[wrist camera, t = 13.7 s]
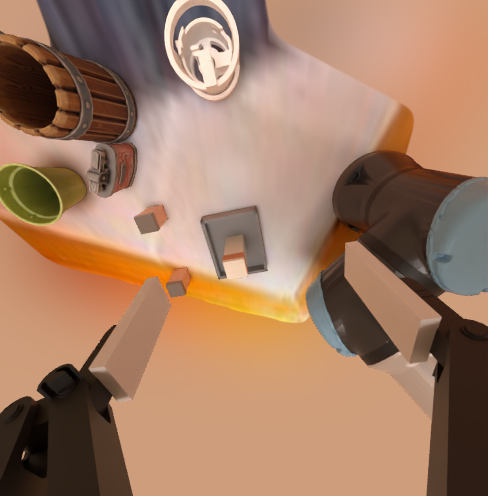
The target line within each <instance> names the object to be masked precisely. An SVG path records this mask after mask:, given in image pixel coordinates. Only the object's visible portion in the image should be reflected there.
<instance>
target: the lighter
mask: <svg viewBox="0 0 488 496" xmlns="http://www.w3.org/2000/svg"><path fill="white" fill-rule="evenodd" d="M136 171H137V149H136V147H135V146H134V145H133V144H132V143H130V142H122V143H121V144H107V143H102V144H98V145H97V146H96V148H95V149H94V150H92V152H91V166H90V169H89V171H88V172H87V179H88V180H89V181H90V182H89V190H90V192H92V193H95V194H97V195H98V196H100V197H103V198H107V197H109V196H111V195H112V194H113V193H115V192H117V191H119V190H122V189H125V188H129V187H131V186H132V184H133V181H134V179H135V175H136Z"/></svg>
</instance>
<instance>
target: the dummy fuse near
mask: <svg viewBox="0 0 488 496" xmlns="http://www.w3.org/2000/svg"><path fill="white" fill-rule="evenodd" d="M167 219H168V218H167V216H166V213H165V211H164V208H163V205H158V206H153V207H148V208H147V209H145V210H144V211H143V212H141V213H140V214H139V215H137V216H135V217H134V220H135V222H136V224H137V226H138V228H139V230H140V232H141V234H145V233H150V232H155V231H159V229H160V227H161V226H162V225H163V224H164V222H165V221H166V220H167Z"/></svg>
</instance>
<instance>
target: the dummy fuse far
mask: <svg viewBox="0 0 488 496" xmlns="http://www.w3.org/2000/svg"><path fill="white" fill-rule="evenodd" d="M190 279H191V277H190V274H189V272H188V269H187V267H186V268H181V269H175V270H174V271H173V273H172V275H171V277H170V279H169V281H168V283H167V284H166V288H167V290H168V292H169V294H170V296H171V297H177V296H183V295H186V290H187V287H188V285H189V282H190Z"/></svg>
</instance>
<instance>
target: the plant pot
mask: <svg viewBox="0 0 488 496" xmlns="http://www.w3.org/2000/svg"><path fill="white" fill-rule="evenodd" d="M85 195H86V186H85V184H84V183H83V181H82V179H81V177H80V176H79V175H78V174H77V173H75V172H74V171H72V170H70V169H66V168H39V167H32V166H28V165H25V164H20V163H9V164H4V165H2V166H1V167H0V201H1V203H2V204H3V205H4V207H5V208H6V209H7V210H8V211H9V212H11V213H12V214H13V215H14V216H16V217H17V218H19V219H20V220H22V221H24V222H27V223H29V224H33V225H39V226H46V225H50V224H53V223H55V222H57V221H58V220H59V219H60V217H61V216H62V214H63V213H64V211H66V210H67V209H69V208H70V207H72V206H73V205H75V204H76V203H78V202H79V201H81V200H82V199H83V198H84V197H85Z"/></svg>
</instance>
